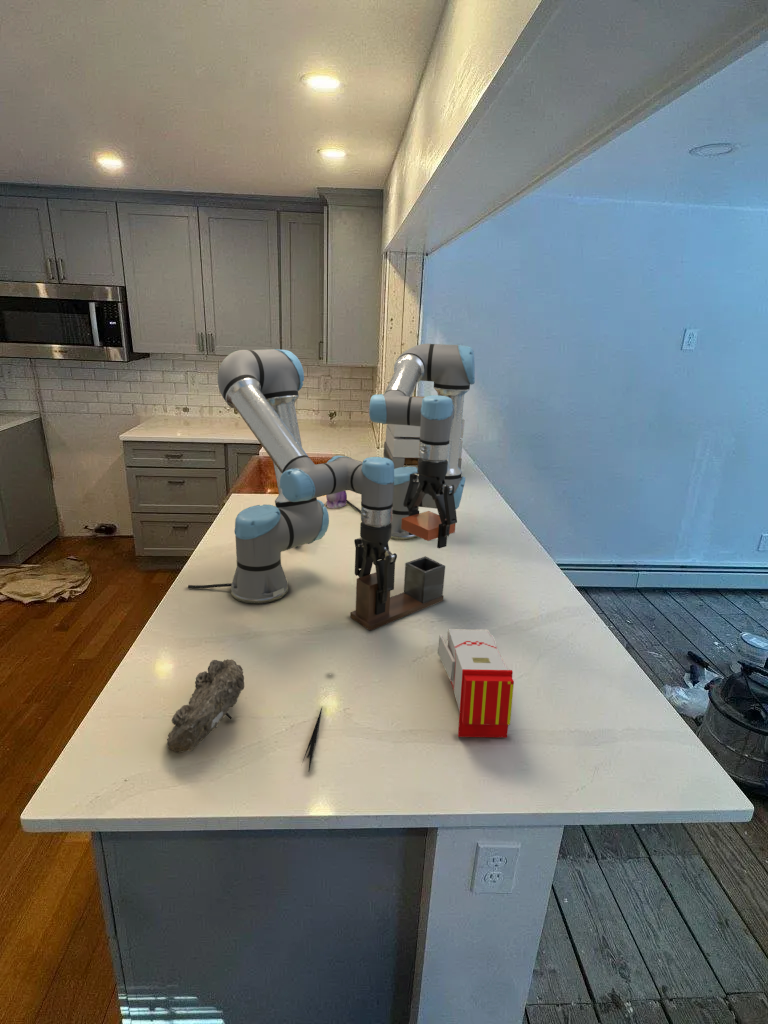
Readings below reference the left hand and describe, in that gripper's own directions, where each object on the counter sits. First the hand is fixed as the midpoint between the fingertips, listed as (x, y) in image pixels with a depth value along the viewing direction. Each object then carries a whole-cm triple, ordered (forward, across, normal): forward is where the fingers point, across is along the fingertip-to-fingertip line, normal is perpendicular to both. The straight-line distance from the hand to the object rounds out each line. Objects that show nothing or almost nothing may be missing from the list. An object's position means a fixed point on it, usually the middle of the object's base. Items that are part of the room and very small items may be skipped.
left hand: (372, 607), depth 143 cm
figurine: (+3, -76, +44) cm, 88 cm away
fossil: (+3, +10, -48) cm, 49 cm away
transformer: (+3, -92, +106) cm, 140 cm away
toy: (+3, +35, -2) cm, 35 cm away
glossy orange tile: (-16, 0, +18) cm, 24 cm away
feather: (+3, +23, -32) cm, 39 cm away
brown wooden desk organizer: (+3, 0, +9) cm, 10 cm away
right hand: (-14, 0, +18) cm, 23 cm away
